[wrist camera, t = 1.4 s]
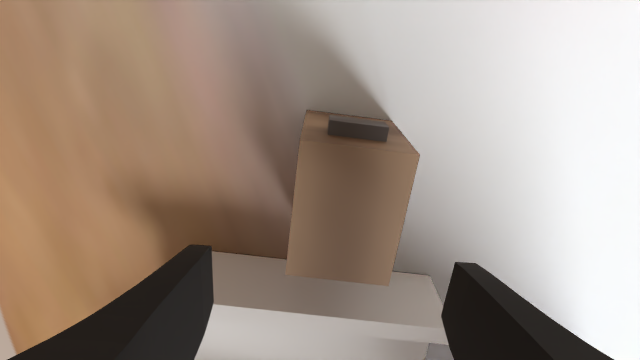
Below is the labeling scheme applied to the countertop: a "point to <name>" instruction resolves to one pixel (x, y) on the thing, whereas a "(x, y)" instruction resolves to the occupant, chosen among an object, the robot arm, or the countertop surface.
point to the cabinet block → (349, 198)
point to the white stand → (316, 315)
